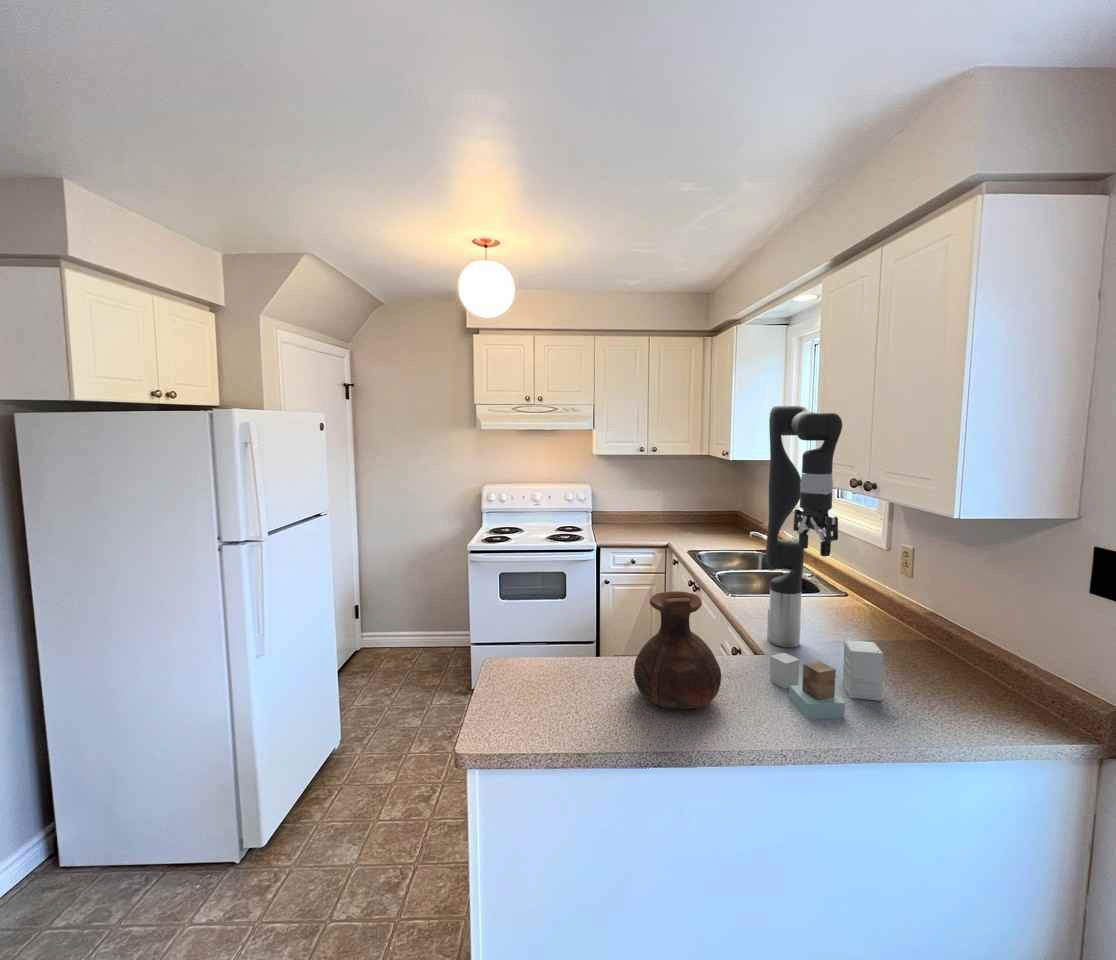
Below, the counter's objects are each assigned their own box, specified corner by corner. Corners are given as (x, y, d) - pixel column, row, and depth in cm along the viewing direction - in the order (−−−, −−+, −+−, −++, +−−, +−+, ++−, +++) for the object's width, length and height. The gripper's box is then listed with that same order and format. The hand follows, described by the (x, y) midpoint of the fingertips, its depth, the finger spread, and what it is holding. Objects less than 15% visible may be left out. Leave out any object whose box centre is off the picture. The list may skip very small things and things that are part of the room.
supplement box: (872, 687, 139) (875, 641, 137) (881, 702, 132) (884, 653, 130) (841, 684, 141) (843, 638, 139) (848, 698, 134) (851, 650, 132)
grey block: (770, 680, 143) (770, 656, 142) (783, 676, 145) (784, 652, 145) (785, 688, 139) (786, 663, 138) (798, 684, 141) (799, 659, 140)
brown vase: (615, 696, 136) (615, 583, 133) (668, 671, 149) (669, 568, 146) (685, 733, 119) (686, 605, 116) (737, 701, 133) (740, 585, 130)
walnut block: (802, 690, 130) (803, 663, 130) (818, 687, 132) (819, 660, 131) (818, 700, 126) (819, 672, 125) (834, 697, 127) (835, 669, 127)
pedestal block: (789, 700, 134) (789, 685, 133) (824, 699, 134) (824, 684, 133) (806, 719, 125) (807, 703, 124) (844, 719, 125) (844, 703, 124)
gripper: (786, 488, 142) (784, 546, 144) (821, 494, 128) (819, 559, 130) (811, 487, 144) (808, 545, 145) (849, 493, 130) (846, 557, 131)
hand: (813, 552), depth 137 cm, fingers open, 8 cm apart
